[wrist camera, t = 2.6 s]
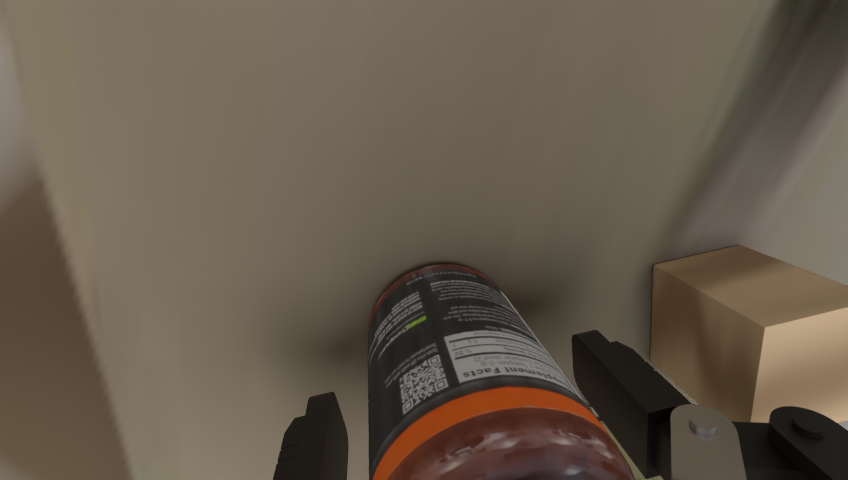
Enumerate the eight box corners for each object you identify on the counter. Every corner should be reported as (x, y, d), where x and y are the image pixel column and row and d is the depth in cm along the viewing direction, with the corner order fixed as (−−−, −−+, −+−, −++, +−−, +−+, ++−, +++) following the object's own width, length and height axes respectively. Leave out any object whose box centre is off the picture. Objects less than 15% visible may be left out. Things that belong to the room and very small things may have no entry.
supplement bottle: (466, 398, 18) (614, 838, 7) (343, 359, 16) (297, 847, 6) (533, 289, 16) (843, 634, 6) (405, 234, 15) (504, 567, 4)
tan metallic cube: (653, 264, 17) (765, 327, 12) (739, 245, 17) (881, 298, 12) (650, 359, 18) (746, 447, 14) (728, 340, 19) (849, 419, 14)
